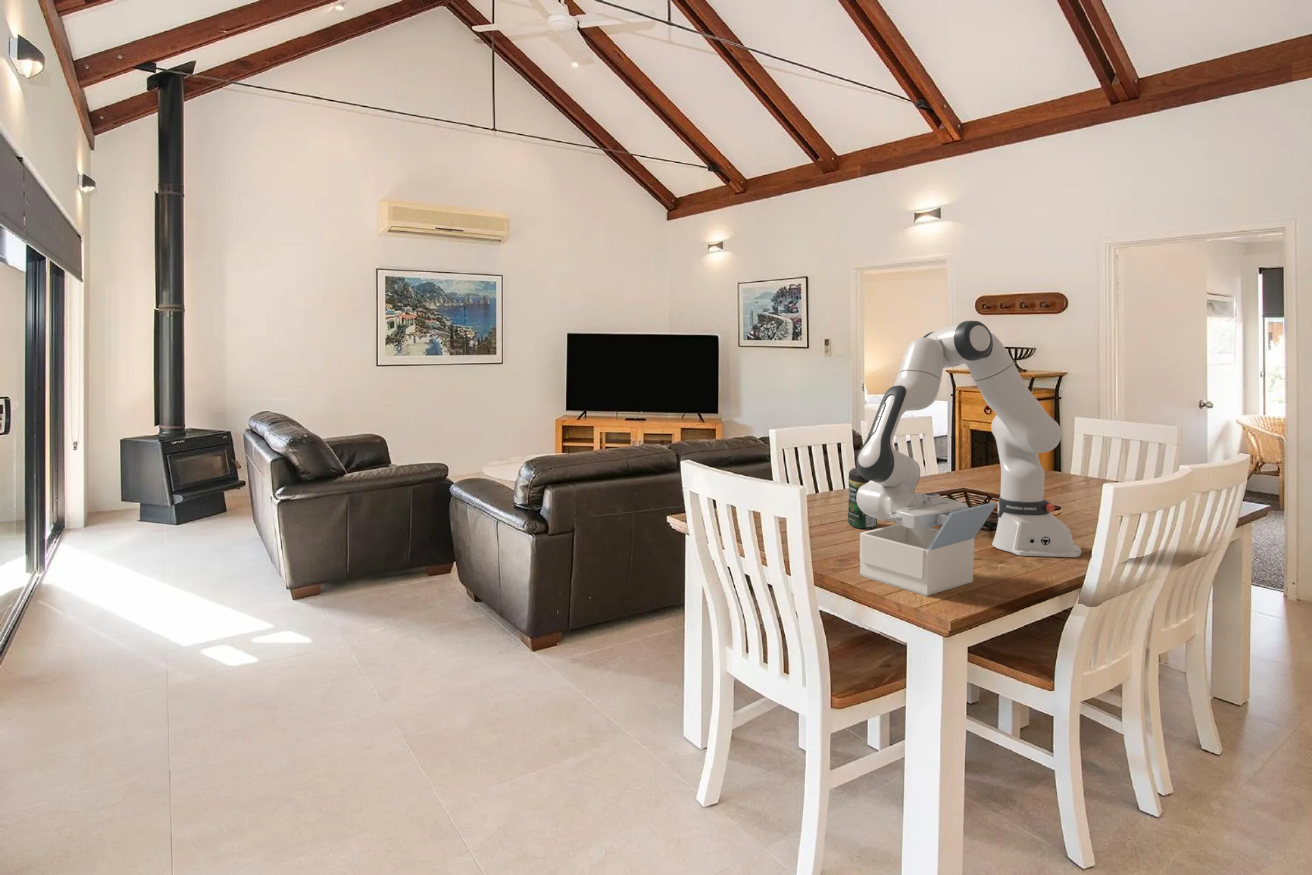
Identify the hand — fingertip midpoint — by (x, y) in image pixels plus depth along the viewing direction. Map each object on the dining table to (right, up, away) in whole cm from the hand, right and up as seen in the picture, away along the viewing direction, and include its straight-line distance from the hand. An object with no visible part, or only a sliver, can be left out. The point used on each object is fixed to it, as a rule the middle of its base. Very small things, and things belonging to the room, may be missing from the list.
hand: (961, 521), depth 180 cm
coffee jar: (-5, -9, +67) cm, 67 cm away
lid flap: (0, -1, 0) cm, 1 cm away
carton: (-7, -16, +13) cm, 21 cm away
